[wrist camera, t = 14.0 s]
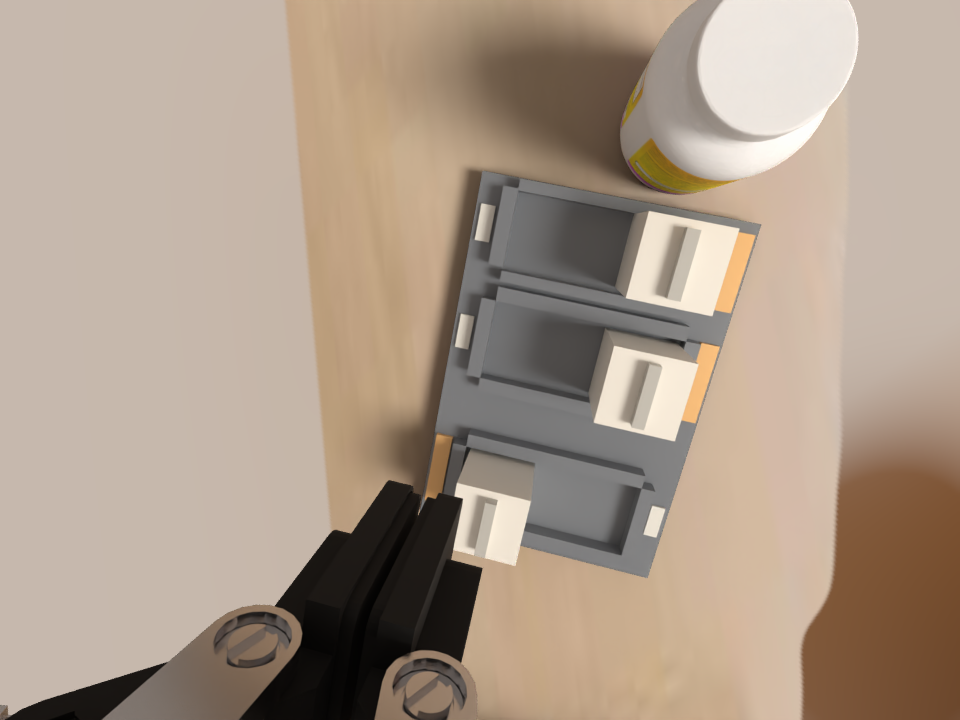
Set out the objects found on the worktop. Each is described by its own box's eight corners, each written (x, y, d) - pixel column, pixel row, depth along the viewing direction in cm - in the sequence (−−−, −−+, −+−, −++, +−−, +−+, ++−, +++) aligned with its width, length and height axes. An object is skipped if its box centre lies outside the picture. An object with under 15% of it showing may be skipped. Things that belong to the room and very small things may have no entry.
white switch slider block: (521, 518, 34) (514, 572, 29) (460, 502, 34) (441, 553, 29) (534, 461, 33) (530, 506, 27) (471, 446, 33) (454, 488, 28)
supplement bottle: (753, 181, 29) (900, 146, 16) (626, 206, 30) (675, 191, 18) (742, 46, 27) (894, -104, 15) (610, 78, 29) (650, -37, 16)
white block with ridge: (656, 408, 31) (677, 446, 26) (588, 392, 31) (594, 427, 26) (676, 342, 30) (702, 367, 25) (605, 327, 30) (615, 348, 25)
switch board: (644, 566, 35) (664, 644, 28) (422, 510, 36) (393, 572, 30) (753, 224, 29) (809, 223, 23) (485, 172, 31) (465, 157, 24)
